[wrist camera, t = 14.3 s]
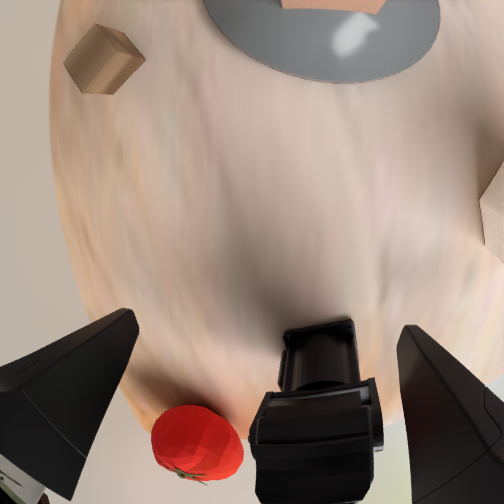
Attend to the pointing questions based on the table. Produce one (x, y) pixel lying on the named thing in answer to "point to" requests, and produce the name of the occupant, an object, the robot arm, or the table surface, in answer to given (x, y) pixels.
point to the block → (103, 61)
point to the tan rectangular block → (336, 5)
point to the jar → (494, 215)
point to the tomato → (196, 444)
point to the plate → (330, 37)
